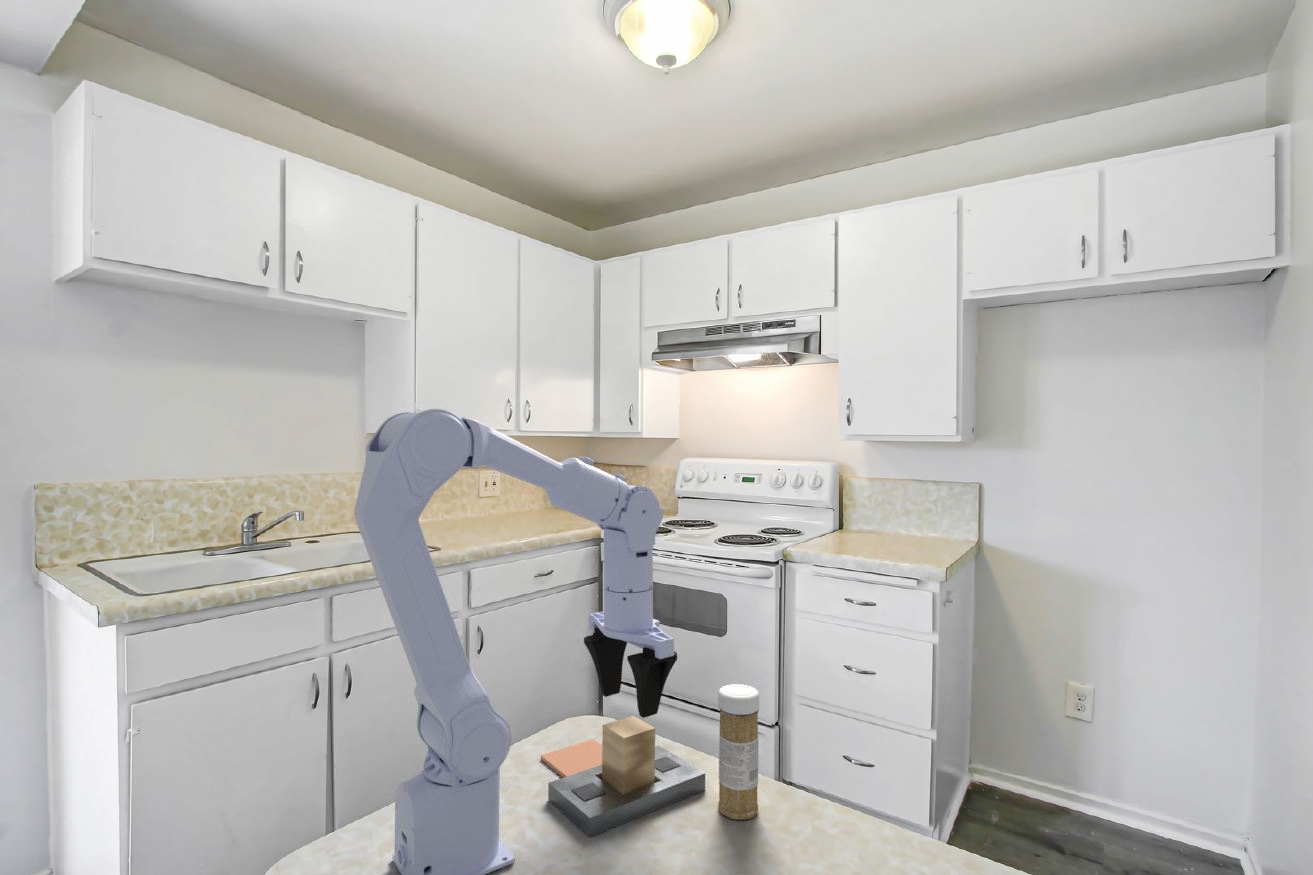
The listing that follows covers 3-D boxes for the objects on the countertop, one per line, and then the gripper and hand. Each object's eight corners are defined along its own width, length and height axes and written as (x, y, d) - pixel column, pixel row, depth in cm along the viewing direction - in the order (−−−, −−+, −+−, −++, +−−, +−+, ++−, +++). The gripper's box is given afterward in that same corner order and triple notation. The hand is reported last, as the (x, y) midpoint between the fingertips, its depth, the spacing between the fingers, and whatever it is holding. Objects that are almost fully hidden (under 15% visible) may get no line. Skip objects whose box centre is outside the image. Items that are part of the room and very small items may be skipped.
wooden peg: (623, 809, 74) (624, 737, 74) (601, 793, 77) (602, 724, 77) (654, 797, 77) (655, 728, 77) (632, 782, 80) (633, 715, 80)
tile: (572, 784, 79) (572, 780, 79) (540, 759, 86) (540, 755, 86) (626, 765, 84) (626, 761, 84) (593, 742, 90) (593, 739, 90)
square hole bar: (589, 837, 68) (590, 816, 69) (548, 800, 76) (548, 781, 76) (705, 789, 78) (705, 772, 78) (658, 761, 85) (658, 744, 85)
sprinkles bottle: (737, 795, 77) (738, 679, 77) (767, 812, 74) (767, 690, 74) (709, 808, 74) (709, 688, 74) (738, 826, 71) (739, 700, 71)
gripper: (695, 593, 74) (695, 715, 74) (621, 573, 85) (622, 678, 85) (644, 603, 70) (645, 732, 70) (574, 580, 81) (574, 691, 81)
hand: (629, 704), depth 77 cm, fingers open, 7 cm apart
